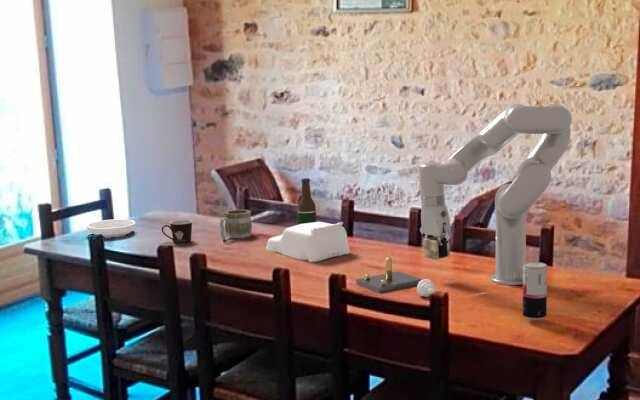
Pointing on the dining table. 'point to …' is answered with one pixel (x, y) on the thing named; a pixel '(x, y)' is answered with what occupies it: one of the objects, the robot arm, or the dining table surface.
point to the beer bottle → (306, 204)
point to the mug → (236, 224)
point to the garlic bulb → (425, 288)
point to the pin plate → (388, 280)
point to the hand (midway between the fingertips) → (437, 254)
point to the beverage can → (534, 290)
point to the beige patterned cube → (433, 248)
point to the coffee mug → (180, 231)
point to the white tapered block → (311, 241)
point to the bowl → (111, 227)
